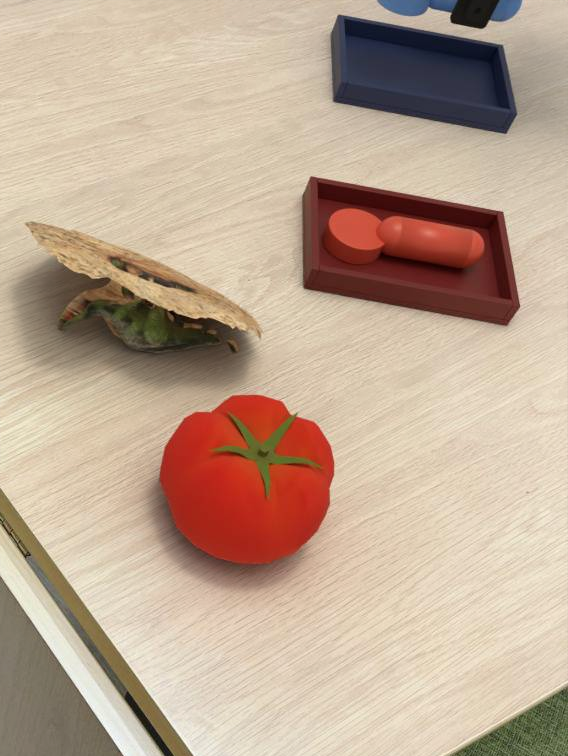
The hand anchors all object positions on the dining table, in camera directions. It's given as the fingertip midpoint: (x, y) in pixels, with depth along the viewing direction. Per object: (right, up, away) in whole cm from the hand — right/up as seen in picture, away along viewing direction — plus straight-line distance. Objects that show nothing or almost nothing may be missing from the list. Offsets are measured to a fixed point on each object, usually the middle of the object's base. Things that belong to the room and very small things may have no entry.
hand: (465, 11), depth 88 cm
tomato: (-25, -45, -23) cm, 57 cm away
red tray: (-9, -24, -8) cm, 27 cm away
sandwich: (-31, -31, -14) cm, 46 cm away
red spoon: (-9, -24, -8) cm, 27 cm away
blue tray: (-2, -4, +6) cm, 7 cm away
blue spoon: (-1, 0, 0) cm, 2 cm away
